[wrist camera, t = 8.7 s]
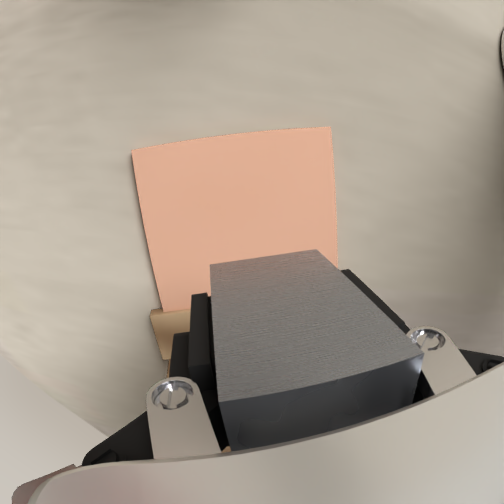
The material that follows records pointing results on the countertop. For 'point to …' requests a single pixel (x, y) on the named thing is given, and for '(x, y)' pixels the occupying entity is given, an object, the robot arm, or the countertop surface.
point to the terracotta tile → (234, 203)
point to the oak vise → (170, 332)
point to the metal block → (302, 350)
